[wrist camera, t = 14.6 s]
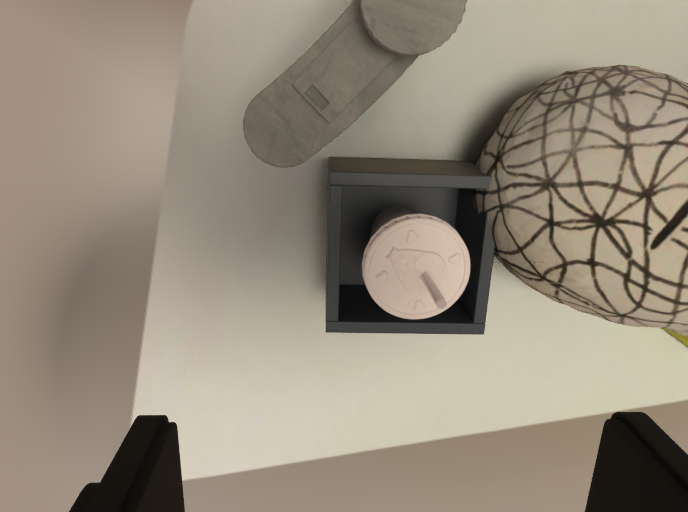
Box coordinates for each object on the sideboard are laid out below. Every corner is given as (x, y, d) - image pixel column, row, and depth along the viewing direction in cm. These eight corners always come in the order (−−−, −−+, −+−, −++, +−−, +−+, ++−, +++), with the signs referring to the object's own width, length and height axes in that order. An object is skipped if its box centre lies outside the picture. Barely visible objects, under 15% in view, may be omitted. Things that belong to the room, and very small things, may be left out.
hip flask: (420, -72, 34) (547, -290, 15) (463, -26, 35) (634, -176, 16) (270, 115, 37) (214, 136, 18) (313, 152, 38) (302, 209, 19)
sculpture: (559, 342, 43) (676, 465, 29) (415, 164, 38) (470, 205, 24) (717, 229, 41) (930, 300, 26) (584, 21, 36) (759, -29, 21)
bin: (328, 156, 38) (329, 171, 30) (468, 160, 38) (504, 176, 31) (325, 288, 41) (325, 332, 34) (454, 291, 42) (484, 334, 34)
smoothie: (404, 284, 40) (444, 376, 27) (337, 241, 39) (344, 315, 26) (453, 218, 39) (521, 281, 25) (385, 171, 37) (419, 212, 24)
